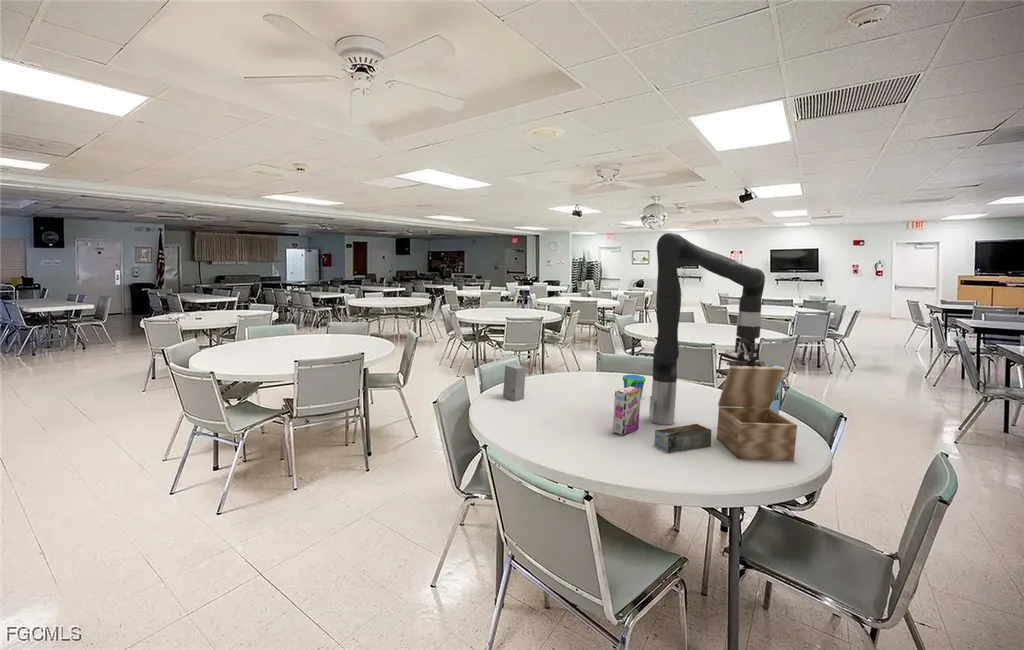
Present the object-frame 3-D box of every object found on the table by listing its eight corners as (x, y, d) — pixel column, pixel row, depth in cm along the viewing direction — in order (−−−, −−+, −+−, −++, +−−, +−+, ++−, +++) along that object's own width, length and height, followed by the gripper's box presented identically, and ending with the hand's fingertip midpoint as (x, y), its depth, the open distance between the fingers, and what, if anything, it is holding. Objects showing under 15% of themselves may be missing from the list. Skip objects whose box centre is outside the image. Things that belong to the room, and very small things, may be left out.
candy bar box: (623, 436, 171) (625, 393, 169) (612, 432, 174) (614, 390, 172) (639, 429, 179) (641, 388, 177) (628, 426, 182) (630, 385, 180)
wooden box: (737, 458, 152) (740, 423, 150) (716, 438, 170) (718, 407, 168) (793, 460, 151) (797, 425, 149) (766, 440, 169) (769, 408, 167)
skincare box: (502, 397, 219) (503, 365, 217) (513, 395, 224) (514, 363, 222) (514, 401, 213) (515, 368, 211) (525, 398, 218) (526, 366, 216)
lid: (731, 368, 158) (722, 352, 166) (718, 406, 168) (711, 390, 176) (785, 369, 157) (774, 353, 165) (769, 408, 167) (759, 391, 175)
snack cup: (636, 403, 213) (637, 381, 212) (615, 399, 220) (616, 378, 218) (649, 396, 225) (650, 375, 224) (629, 392, 232) (630, 372, 230)
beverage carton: (652, 445, 163) (653, 427, 162) (695, 439, 170) (697, 421, 169) (667, 454, 156) (668, 435, 155) (712, 447, 162) (713, 429, 162)
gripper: (729, 321, 173) (726, 364, 175) (746, 326, 159) (743, 372, 161) (750, 322, 172) (747, 364, 174) (769, 326, 158) (765, 373, 160)
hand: (745, 368), depth 167 cm, fingers open, 8 cm apart
